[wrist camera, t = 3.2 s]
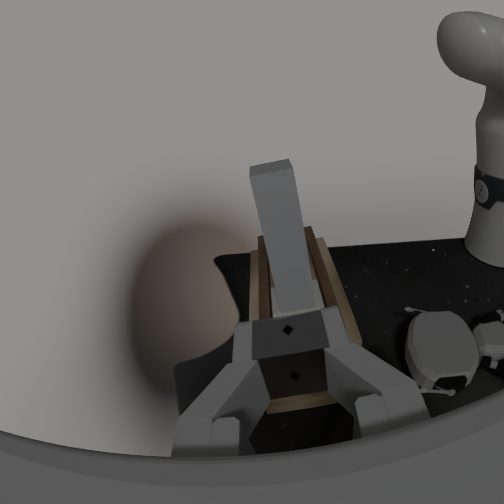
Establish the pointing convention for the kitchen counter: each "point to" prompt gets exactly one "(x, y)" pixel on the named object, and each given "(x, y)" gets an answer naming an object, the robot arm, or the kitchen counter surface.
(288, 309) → the tall post on base
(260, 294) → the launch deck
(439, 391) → the robot toy
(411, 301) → the kitchen counter surface
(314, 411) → the kitchen counter surface
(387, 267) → the kitchen counter surface
